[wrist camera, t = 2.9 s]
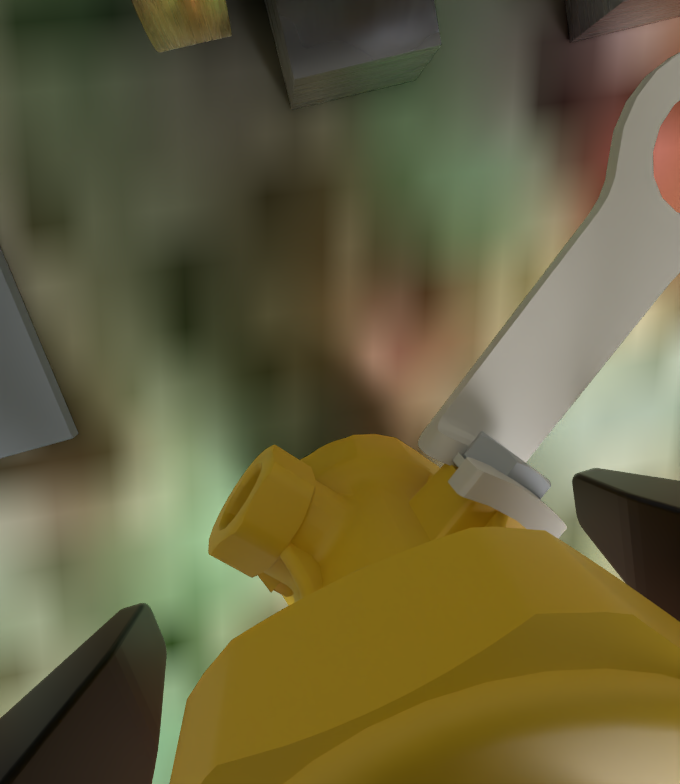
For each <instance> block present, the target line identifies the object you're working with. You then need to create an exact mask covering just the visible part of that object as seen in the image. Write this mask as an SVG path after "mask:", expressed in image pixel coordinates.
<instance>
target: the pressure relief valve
mask: <svg viewBox="0 0 680 784" xmlns="http://www.w3.org/2000/svg"><path fill="white" fill-rule="evenodd" d="M679 100H680V53H678V54H676V55H674V56H672V57H670V58H669V59H667V60H666V61H665V62H663V63H662V64H661V65H660V66H658V67H657V68H656V69H655V70H653V71H652V72H651V73H649V74H648V75H647V76H646V77H645V78H644V79H643V80H642V82H641V83H640V84H639V86H638V87H637V88H636V90H635V91H634V92H633V93H632V95H631V96H630V97H629V99H628V100H627V101H626V103H625V106H624V108H623V110H622V113H621V115H620V117H619V120H618V122H617V124H616V126H615V129H614V131H613V137H612V143H611V148H610V154H609V160H608V166H607V172H606V179H605V182H604V185H603V188H602V190H601V193H600V196H599V198H598V200H597V202H596V203H595V205H594V207H593V208H592V210H591V212H590V213H589V215H588V216H587V217H586V219H585V220H584V221H583V223H582V224H581V225H580V226H579V228H578V229H577V230H576V232H575V233H574V234H573V236H572V237H571V238H570V240H569V241H568V242H567V243H566V245H565V246H564V247H563V249H562V250H561V251H560V253H559V254H558V255H557V257H556V258H555V259H554V261H553V262H552V263H551V264H550V266H549V267H548V268H547V270H546V271H545V272H544V274H543V275H542V276H541V278H540V279H539V280H538V281H537V283H536V284H535V285H534V287H533V288H532V289H531V291H530V292H529V293H528V295H527V296H526V297H525V298H524V300H523V301H522V302H521V304H520V305H519V306H518V308H517V309H516V310H515V312H514V313H513V314H512V316H511V317H510V318H509V319H508V321H507V322H506V323H505V325H504V326H503V327H502V329H501V330H500V331H499V333H498V334H497V335H496V336H495V338H494V339H493V340H492V342H491V343H490V344H489V346H488V347H487V348H486V350H485V351H484V352H483V354H482V355H481V356H480V357H479V359H478V360H477V361H476V363H475V364H474V365H473V367H472V368H471V369H470V371H469V372H468V373H467V374H466V376H465V377H464V378H463V380H462V381H461V382H460V384H459V385H458V386H457V388H456V389H455V390H454V392H453V393H452V394H451V395H450V397H449V398H448V399H447V401H446V402H445V403H444V405H443V406H442V407H441V409H440V410H439V411H438V412H437V414H436V415H435V416H434V418H433V419H432V420H431V422H430V423H429V424H428V426H427V427H426V428H425V430H424V431H423V432H422V434H421V436H420V438H419V441H418V446H419V448H420V449H421V450H422V451H423V452H424V453H425V454H427V455H428V456H430V457H432V458H434V459H436V460H438V461H440V462H443V463H445V464H444V465H443V466H442V467H441V468H439V467H438V466H437V465H435V464H434V463H432V462H431V461H430V460H428V459H427V458H425V457H424V456H422V455H421V454H420V453H418V452H417V451H416V450H414V449H412V448H411V447H409V446H408V445H406V444H405V443H403V442H402V441H400V440H399V439H397V438H395V437H389V436H384V435H378V434H363V435H352V436H349V437H347V438H343V439H339V440H336V441H333V442H331V443H328V444H326V445H324V446H322V447H320V448H319V449H317V450H316V451H314V452H313V453H311V454H310V455H308V456H306V457H304V458H302V459H300V460H299V459H297V458H296V457H294V456H292V455H291V454H289V453H288V452H286V451H285V450H283V449H281V448H280V447H278V446H277V445H272V446H270V447H268V448H267V449H265V450H264V451H263V452H262V453H261V454H260V455H258V456H257V458H256V459H255V460H254V461H253V462H252V464H251V465H250V466H249V467H248V469H247V470H246V471H245V473H244V474H243V476H242V477H241V478H240V480H239V481H238V483H237V484H236V486H235V487H234V489H233V491H232V492H231V494H230V495H229V497H228V499H227V501H226V503H225V504H224V506H223V508H222V510H221V512H220V514H219V516H218V518H217V520H216V522H215V524H214V527H213V529H212V532H211V535H210V538H209V549H208V551H209V555H211V556H213V557H215V558H217V559H219V560H220V561H222V562H224V563H226V564H228V565H230V566H231V567H233V568H235V569H237V570H239V571H241V572H243V573H244V574H246V575H248V576H250V577H254V576H257V575H258V576H259V578H260V579H261V580H262V581H263V583H264V584H265V585H266V587H267V588H268V589H269V591H270V592H272V591H273V590H274V591H276V592H278V593H280V594H282V596H283V597H284V599H285V600H286V602H287V603H288V605H289V606H288V607H286V608H284V609H282V610H281V611H279V612H277V613H275V614H274V615H272V616H270V617H269V618H267V619H265V620H264V621H262V622H260V623H259V624H257V625H255V626H253V627H252V628H250V629H249V630H247V631H245V632H244V633H242V634H241V635H239V636H237V637H236V638H234V639H233V640H231V641H230V643H229V644H228V645H227V646H226V647H225V649H224V650H223V651H222V652H221V653H220V655H219V656H218V657H217V658H216V659H215V661H214V662H213V663H212V664H211V665H210V667H209V668H208V669H207V670H206V671H205V672H204V674H203V675H202V677H201V678H200V680H199V682H198V683H197V685H196V686H195V688H194V689H193V691H192V692H191V694H190V696H189V697H188V699H187V702H186V707H185V712H184V716H183V721H182V726H181V731H180V736H179V741H178V745H177V750H176V755H175V760H174V765H173V770H172V775H171V779H170V784H680V622H679V621H678V620H676V619H675V618H674V617H672V616H671V615H669V614H668V613H667V612H665V611H664V610H662V609H661V608H660V607H658V606H657V605H655V604H654V603H653V602H651V601H650V600H648V599H647V598H645V597H644V596H643V595H641V594H640V593H638V592H637V591H635V590H634V589H633V588H631V587H630V586H628V585H627V584H625V583H624V582H622V581H621V580H620V579H618V578H617V577H615V576H614V575H612V574H611V573H609V572H608V571H606V570H605V569H603V568H602V567H600V566H599V565H597V564H596V563H594V562H593V561H592V560H590V559H589V558H587V557H585V556H584V555H582V554H581V553H579V552H578V551H576V550H575V549H573V548H572V547H570V546H569V545H567V544H566V543H564V542H562V541H561V540H559V539H558V538H559V537H560V536H561V535H562V533H563V532H564V531H565V530H566V529H567V526H566V525H565V523H564V522H563V521H562V520H561V518H560V517H559V516H558V515H557V514H556V513H555V512H554V511H553V510H552V509H551V508H549V507H548V506H547V505H546V504H545V503H544V502H542V501H541V500H540V499H541V498H542V497H543V495H544V494H545V493H546V492H547V490H548V489H549V488H550V487H551V483H550V481H549V480H548V479H547V478H546V477H544V476H543V475H542V474H540V473H539V472H538V471H536V470H535V469H534V468H532V467H531V466H530V465H528V464H527V463H526V462H527V461H528V459H529V458H530V457H531V456H532V454H533V453H534V452H535V451H536V449H537V448H538V447H539V446H540V444H541V443H542V442H543V441H544V439H545V438H546V437H547V436H548V434H549V433H550V432H551V431H552V429H553V428H554V427H555V426H556V424H557V423H558V422H559V421H560V419H561V418H562V417H563V416H564V414H565V413H566V412H567V411H568V409H569V408H570V407H571V406H572V405H573V403H574V402H575V401H576V400H577V398H578V397H579V396H580V395H581V393H582V392H583V391H584V390H585V388H586V387H587V386H588V385H589V383H590V382H591V381H592V380H593V378H594V377H595V376H596V375H597V373H598V372H599V371H600V370H601V368H602V367H603V366H604V365H605V363H606V362H607V361H608V360H609V358H610V357H611V356H612V355H613V353H614V352H615V351H616V350H617V348H618V347H619V346H620V345H621V343H622V342H623V341H624V340H625V338H626V337H627V336H628V335H629V333H630V332H631V331H632V330H633V328H634V327H635V326H636V325H637V323H638V322H639V321H640V320H641V319H642V317H643V316H644V315H645V314H646V312H647V311H648V310H649V309H650V307H651V306H652V305H653V304H654V302H655V301H656V300H657V299H658V297H659V296H660V295H661V294H662V292H663V291H664V290H665V289H666V287H667V286H668V285H669V284H670V282H671V281H672V280H673V279H674V278H675V277H676V276H677V275H678V274H679V273H680V213H678V212H676V211H675V210H674V209H673V208H672V207H671V206H670V205H669V204H668V203H667V202H666V201H665V200H664V199H663V198H662V196H661V194H660V191H659V189H658V186H657V184H656V181H655V179H654V172H653V150H654V146H655V142H656V139H657V135H658V132H659V128H660V126H661V124H662V123H663V121H664V120H665V118H666V117H667V115H668V113H669V112H670V110H671V109H672V107H673V106H674V104H676V103H677V102H678V101H679Z"/></svg>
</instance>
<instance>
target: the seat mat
mask: <svg viewBox="0 0 680 784" xmlns="http://www.w3.org/2000/svg"><path fill="white" fill-rule="evenodd" d="M77 434H78V431H77V429H76V426H75V424H74V422H73V419H72V417H71V415H70V412H69V410H68V407H67V405H66V403H65V400H64V398H63V395H62V393H61V391H60V388H59V386H58V384H57V381H56V379H55V376H54V374H53V372H52V369H51V367H50V364H49V362H48V360H47V357H46V355H45V353H44V350H43V348H42V345H41V343H40V341H39V338H38V336H37V333H36V331H35V329H34V326H33V324H32V322H31V319H30V317H29V314H28V312H27V310H26V307H25V305H24V303H23V300H22V298H21V295H20V293H19V291H18V288H17V286H16V283H15V281H14V279H13V276H12V274H11V272H10V269H9V267H8V264H7V262H6V260H5V257H4V255H3V252H2V250H1V248H0V458H3V457H7V456H11V455H14V454H18V453H21V452H25V451H29V450H32V449H36V448H40V447H43V446H47V445H51V444H54V443H58V442H61V441H65V440H69V439H72V438H74V437H75V436H76V435H77Z"/></svg>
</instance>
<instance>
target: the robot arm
mask: <svg viewBox="0 0 680 784" xmlns="http://www.w3.org/2000/svg"><path fill="white" fill-rule="evenodd" d="M572 485H573V492H574V499H575V507H576V514H577V518H578V521H579V523H580V525H581V527H582V528H583V530H584V531H585V532H586V534H587V535H588V536H589V537H590V539H591V540H592V541H593V543H594V544H595V545H596V546H597V548H598V549H599V550H600V551H601V553H602V554H603V555H604V556H605V558H606V559H607V560H608V562H609V563H610V564H611V565H612V567H613V568H614V569H615V570H616V572H617V573H618V574H619V576H620V577H621V578H622V579H623V581H624V582H625V583H626V584H627V585H628V586H630V587H631V588H633V589H634V590H635V591H637V592H638V593H640V594H641V595H643V596H644V597H645V598H647V599H648V600H650V601H651V602H653V603H654V604H655V605H657V606H658V607H660V608H661V609H662V610H664V611H665V612H667V613H668V614H669V615H671V616H672V617H674V618H675V619H676V620H678V621H679V622H680V481H677V480H671V479H664V478H658V477H651V476H645V475H638V474H632V473H626V472H619V471H613V470H606V469H600V468H593V469H590V470H586V471H583V472H580V473H577V474H575V475H574V477H573V480H572ZM166 655H167V654H166V645H165V641H164V638H163V636H162V634H161V631H160V629H159V626H158V624H157V622H156V619H155V617H154V615H153V612H152V610H151V608H150V607H149V605H148V604H146V603H140V604H137V605H133V606H130V607H126V608H123V609H121V610H120V611H119V612H118V613H116V614H115V615H114V616H113V617H112V618H111V619H110V620H109V621H108V622H106V623H105V624H104V625H103V626H102V627H101V628H100V629H99V630H98V631H97V632H95V633H94V634H93V635H92V636H91V637H90V638H89V639H88V640H87V641H85V642H84V643H83V644H82V645H81V646H80V647H79V648H78V649H77V650H75V651H74V652H73V653H72V654H71V655H70V656H69V657H68V658H67V659H65V660H64V661H63V662H62V663H61V664H60V665H59V666H58V667H57V668H56V669H54V670H53V671H52V672H51V673H50V674H49V675H48V676H47V677H46V678H44V679H43V680H42V681H41V682H40V683H39V684H38V685H37V686H36V687H34V688H33V689H32V690H31V691H30V692H29V693H28V694H27V695H26V696H24V697H23V698H22V699H21V700H20V701H19V702H18V703H17V704H16V705H15V706H13V707H12V708H11V709H10V710H9V711H8V712H7V713H6V714H5V715H3V716H2V717H1V718H0V784H152V779H153V774H154V769H155V763H156V757H157V752H158V744H159V735H160V725H161V713H162V702H163V691H164V679H165V668H166Z"/></svg>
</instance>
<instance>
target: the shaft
mask: <svg viewBox="0 0 680 784" xmlns="http://www.w3.org/2000/svg"><path fill="white" fill-rule="evenodd" d="M131 1H132V3H133V6H134V8H135V10H136V12H137V15H138V17H139V19H140V21H141V23H142V25H143V28H144V30H145V32H146V34H147V36H148V37H149V39H150V41H151V43H152V45H153V46H154V48H155V49H156V51H157V52H164V51H168V50H172V49H177V48H181V47H186V46H190V45H194V44H199V43H203V42H207V41H212V40H216V39H220V38H225V37H229V36H232V32H231V26H230V20H229V15H228V9H227V5H226V0H131ZM264 2H265V6H266V10H267V14H268V18H269V22H270V26H271V30H272V34H273V38H274V42H275V46H276V50H277V54H278V58H279V62H280V66H281V70H282V74H283V78H284V82H285V86H286V90H287V94H288V98H289V102H290V106H291V110H294V109H298V108H302V107H306V106H310V105H314V104H318V103H323V102H327V101H331V100H335V99H339V98H343V97H347V96H352V95H356V94H360V93H364V92H368V91H372V90H376V89H381V88H385V87H389V86H393V85H397V84H401V83H405V82H410V81H414V80H416V79H417V77H418V76H419V75H420V73H421V72H422V71H423V69H424V68H425V66H426V65H427V64H428V62H429V61H430V60H431V58H432V57H433V56H434V54H435V53H436V51H437V50H438V49H439V47H440V46H441V45H442V44H441V38H440V33H439V27H438V21H437V15H436V9H435V3H434V0H264ZM565 2H566V11H567V21H568V30H569V39H570V43H571V42H575V41H579V40H584V39H588V38H592V37H596V36H600V35H604V34H608V33H613V32H617V31H621V30H625V29H629V28H633V27H637V26H642V25H646V24H650V23H654V22H658V21H662V20H666V19H671V18H675V17H679V16H680V0H565Z"/></svg>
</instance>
